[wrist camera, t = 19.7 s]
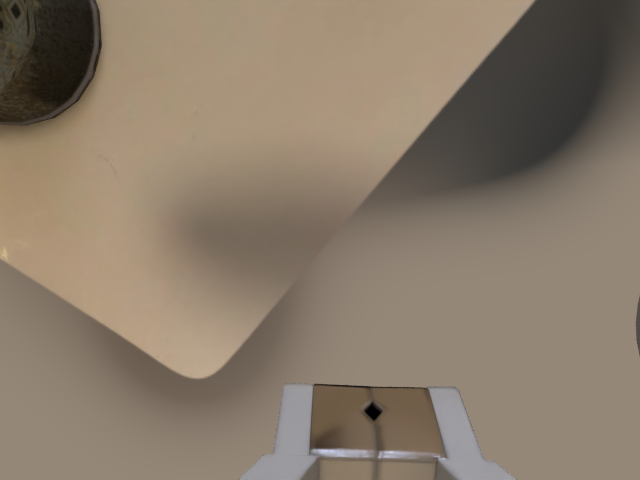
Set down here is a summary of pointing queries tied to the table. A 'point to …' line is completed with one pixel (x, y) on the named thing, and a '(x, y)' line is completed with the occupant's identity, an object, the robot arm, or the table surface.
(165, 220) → the table surface
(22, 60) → the lantern
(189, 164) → the table surface
